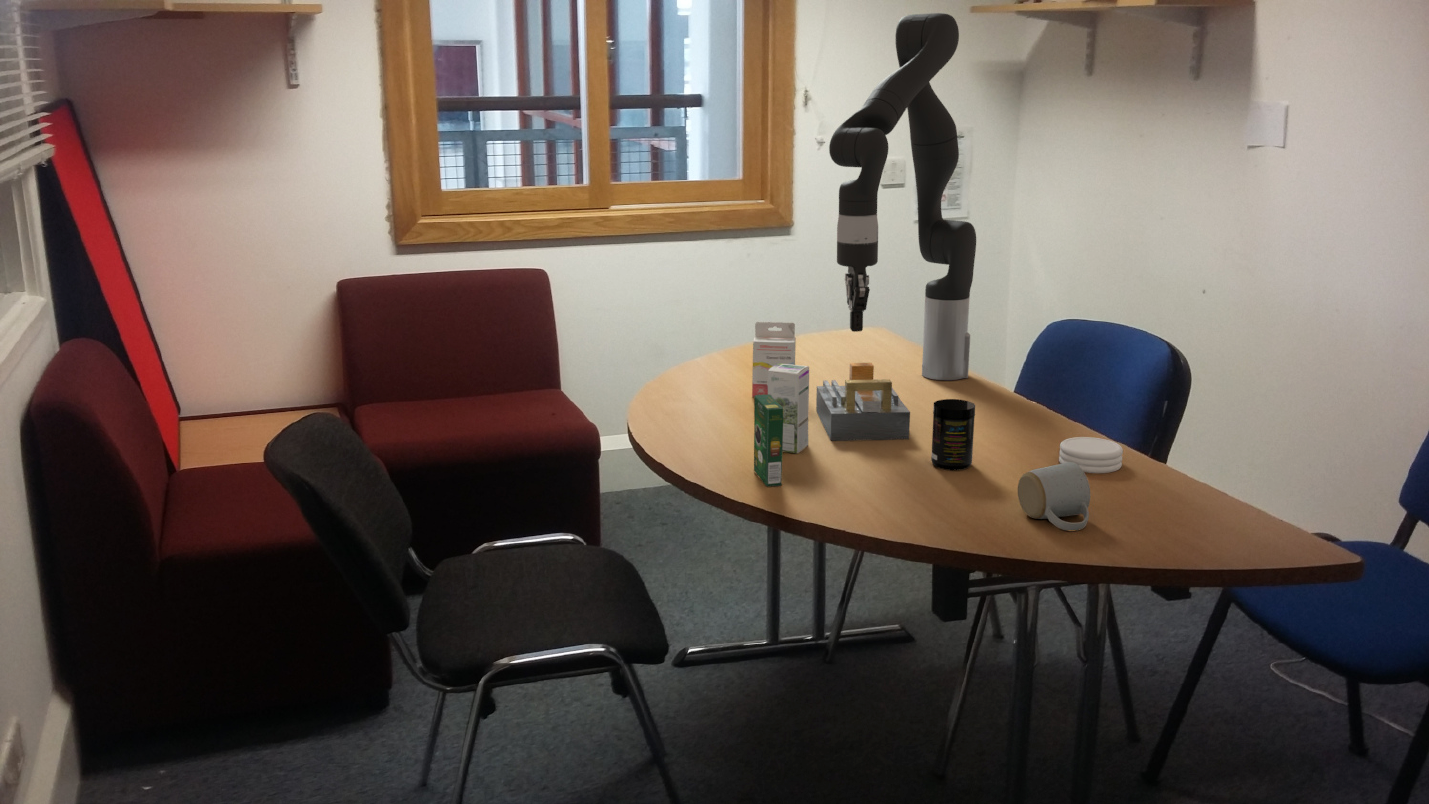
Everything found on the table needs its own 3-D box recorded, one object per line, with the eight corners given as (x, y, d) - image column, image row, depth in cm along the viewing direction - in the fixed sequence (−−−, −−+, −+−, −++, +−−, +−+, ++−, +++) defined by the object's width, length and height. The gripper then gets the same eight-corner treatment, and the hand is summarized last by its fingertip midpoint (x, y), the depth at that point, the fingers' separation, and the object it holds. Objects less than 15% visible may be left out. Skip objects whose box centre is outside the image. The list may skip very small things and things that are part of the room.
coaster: (1046, 459, 196) (1047, 439, 195) (1095, 452, 199) (1096, 433, 198) (1083, 477, 187) (1085, 457, 186) (1134, 470, 190) (1136, 450, 189)
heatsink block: (888, 409, 225) (890, 359, 222) (909, 439, 207) (911, 384, 204) (816, 411, 224) (817, 360, 222) (830, 440, 206) (831, 386, 203)
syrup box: (809, 445, 204) (810, 364, 200) (797, 454, 198) (798, 372, 195) (779, 441, 206) (779, 361, 202) (766, 450, 201) (766, 369, 197)
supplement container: (980, 469, 191) (983, 407, 188) (943, 473, 189) (946, 411, 186) (959, 456, 197) (962, 397, 194) (923, 461, 195) (926, 401, 192)
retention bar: (870, 394, 216) (871, 362, 214) (882, 411, 204) (883, 378, 203) (849, 394, 216) (849, 363, 214) (860, 412, 204) (861, 379, 203)
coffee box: (783, 486, 183) (784, 406, 180) (766, 488, 182) (766, 407, 179) (770, 470, 191) (770, 393, 187) (753, 471, 190) (753, 394, 187)
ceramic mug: (1012, 510, 173) (1015, 461, 170) (1059, 503, 175) (1063, 455, 173) (1053, 536, 163) (1058, 485, 161) (1103, 529, 166) (1108, 478, 163)
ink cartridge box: (751, 398, 234) (751, 326, 230) (753, 391, 239) (753, 321, 235) (794, 398, 233) (795, 326, 229) (795, 392, 238) (796, 321, 234)
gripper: (884, 243, 208) (882, 338, 213) (871, 233, 220) (869, 322, 225) (842, 244, 207) (841, 339, 212) (831, 234, 220) (831, 323, 225)
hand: (856, 330), depth 219 cm, fingers closed
